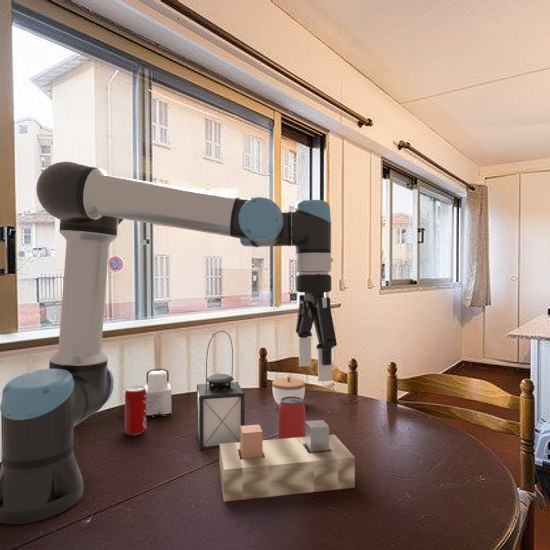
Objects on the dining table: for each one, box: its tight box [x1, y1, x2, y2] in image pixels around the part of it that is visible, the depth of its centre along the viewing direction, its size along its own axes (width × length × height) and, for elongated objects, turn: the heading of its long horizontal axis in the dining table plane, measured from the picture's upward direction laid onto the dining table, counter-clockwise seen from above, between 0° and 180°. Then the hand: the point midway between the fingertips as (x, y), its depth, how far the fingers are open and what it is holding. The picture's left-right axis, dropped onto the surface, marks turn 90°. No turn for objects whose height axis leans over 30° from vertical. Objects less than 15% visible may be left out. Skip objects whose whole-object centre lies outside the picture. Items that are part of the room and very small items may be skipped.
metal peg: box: [305, 419, 330, 454], centre depth 87 cm, size 4×4×6 cm
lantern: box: [196, 330, 246, 452], centre depth 106 cm, size 11×11×28 cm
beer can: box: [278, 396, 306, 439], centre depth 101 cm, size 7×7×12 cm
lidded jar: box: [271, 376, 306, 405], centre depth 134 cm, size 11×11×9 cm
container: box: [144, 368, 172, 415], centre depth 127 cm, size 8×8×13 cm
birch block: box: [219, 434, 356, 502], centre depth 86 cm, size 26×12×6 cm, turn 101°
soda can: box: [124, 385, 147, 435], centre depth 111 cm, size 6×6×12 cm
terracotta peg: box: [240, 424, 264, 459], centre depth 84 cm, size 4×4×6 cm
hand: (314, 373), depth 89 cm, fingers open, 13 cm apart
